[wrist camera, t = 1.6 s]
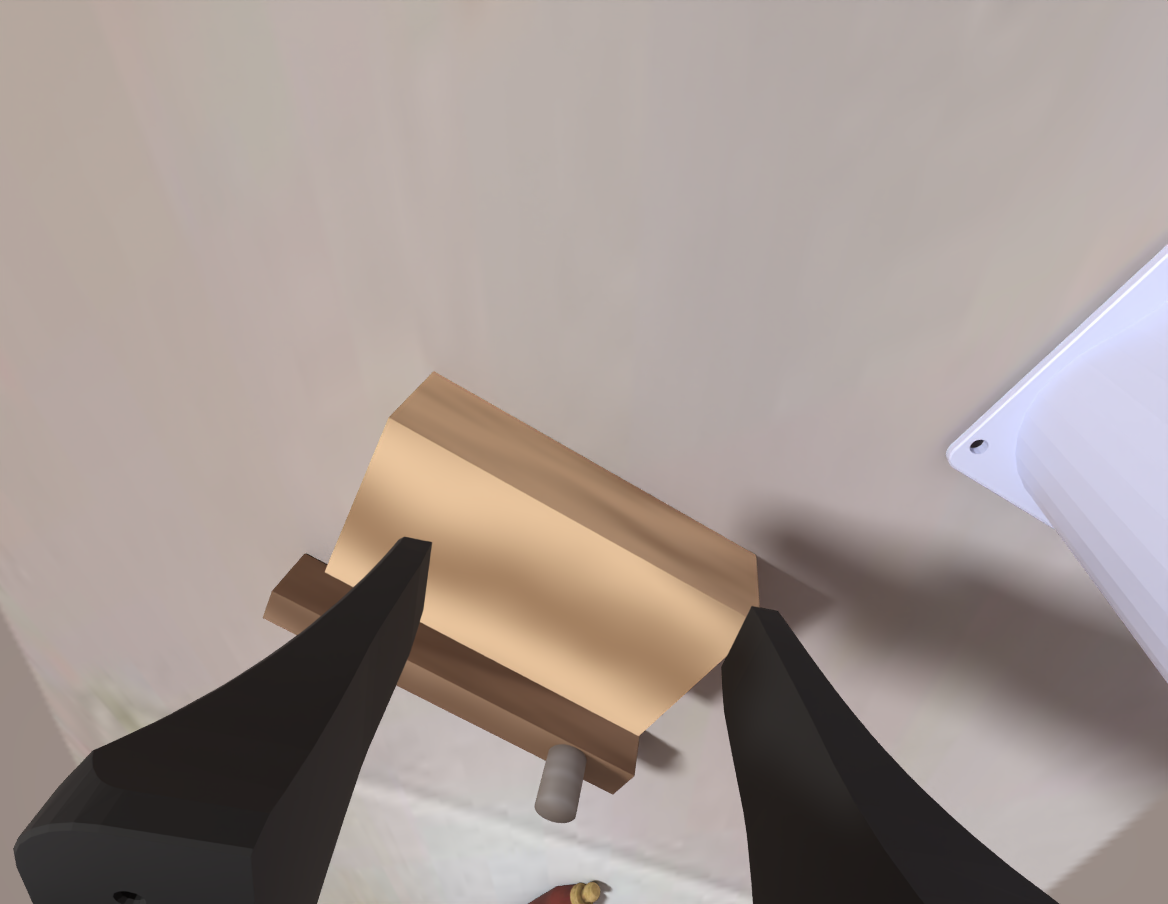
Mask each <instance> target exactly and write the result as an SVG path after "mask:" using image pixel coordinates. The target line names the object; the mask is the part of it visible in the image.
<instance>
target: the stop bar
mask: <svg viewBox="0 0 1168 904" xmlns="http://www.w3.org/2000/svg"><path fill="white" fill-rule="evenodd" d="M326 567H327V565H326V564H324V563H322V562H320V561H319V560H317V559H315V558H313V557H311V556H309V555H307V554H304V555H303V556H302V557H301V558H300V560H299V561H298V562H297V563H296V564H295V565H294V566H293V568H292V569H291V570H290V571H289V572H288V573H287V574H286V576H285V577H284V578H283V579H282V580H281V581H280V583H279V584H278V585H277V586H276V587H275V588H274V589H273V591H272V593H271V596H270V598H269V601H268V604H267V607H266V610H265V613H264V616H263V618H264V619H266V620H268V621H270V622H272V623H274V624H276V625H278V626H280V627H282V628H284V629H286V630H288V631H290V632H292V633H294V634H296V635H298V634H299V633H301V632H302V631H303V630H305V629H306V628H307V627H308V626H310V625H311V624H312V623H313V622H314V621H316V620H317V619H318V618H319V617H320V616H322V615H323V614H324V613H325V612H326V611H327V610H329V609H330V608H331V607H332V606H333V605H335V604H336V603H337V602H338V601H339V600H340V599H341V598H342V597H344V596H345V595H346V594H347V593H348V592H349V591H350V590H351V589H352V588H353V587H352V586H350V585H348V584H346V583H345V582H343V581H341V580H339V579H337V578H335V577H333V576H331V575H329V574H327V573H325V570H326ZM397 686H399V687H401V688H403V689H405V690H407V691H409V692H411V693H413V694H415V695H417V696H419V697H421V698H423V699H425V700H427V701H428V702H430V703H432V704H434V705H436V706H438V707H440V708H442V709H444V710H446V711H448V712H450V713H452V714H454V715H456V716H458V717H460V718H462V719H464V720H466V721H468V722H470V723H472V724H474V725H476V726H478V727H480V728H482V729H484V730H486V731H488V732H490V733H492V734H494V735H496V736H498V737H500V738H502V739H504V740H506V741H508V742H510V743H512V744H514V745H516V746H518V747H520V748H522V749H524V750H526V751H528V752H530V753H532V754H534V755H536V756H537V757H539V758H541V759H543V760H545V761H546V763H545V767H544V771H543V775H542V779H541V783H540V786H539V790H538V794H537V798H536V802H535V810H536V812H537V813H538V814H539V815H540V816H542V817H543V818H545V819H547V820H549V821H552V822H556V823H567V822H571V821H572V820H574V819H575V817H576V812H577V807H578V802H579V797H580V792H581V787H582V782H583V780H585V781H587V782H589V783H591V784H593V785H595V786H597V787H599V788H601V789H603V790H605V791H607V792H609V793H611V794H614V793H615V792H616V791H618V790H619V789H620V788H621V787H622V786H623V785H625V784H626V783H627V782H628V781H629V780H630V779H631V778H633V777H634V776H635V768H636V760H637V752H638V744H639V736H640V735H639V736H637V735H635V734H634V733H632V732H630V731H628V730H626V729H624V728H622V727H620V726H618V725H616V724H614V723H612V722H611V721H609V720H607V719H605V718H603V717H601V716H599V715H597V714H595V713H593V712H591V711H590V710H588V709H586V708H584V707H582V706H580V705H578V704H576V703H574V702H572V701H570V700H568V699H567V698H565V697H563V696H561V695H559V694H557V693H555V692H553V691H551V690H549V689H547V688H545V687H544V686H542V685H540V684H538V683H536V682H534V681H532V680H530V679H528V678H526V677H524V676H523V675H521V674H519V673H517V672H515V671H513V670H511V669H509V668H507V667H505V666H503V665H501V664H500V663H498V662H496V661H494V660H492V659H490V658H488V657H486V656H484V655H482V654H480V653H478V652H477V651H475V650H473V649H471V648H469V647H467V646H465V645H463V644H461V643H459V642H457V641H456V640H454V639H452V638H450V637H448V636H446V635H444V634H442V633H440V632H438V631H436V630H434V629H433V628H431V627H429V626H427V625H425V624H423V623H421V622H420V623H419V626H418V630H417V633H416V636H415V639H414V642H413V646H412V649H411V652H410V654H409V657H408V659H407V662H406V664H405V666H404V668H403V671H402V673H401V675H400V678H399V680H398V682H397Z"/></svg>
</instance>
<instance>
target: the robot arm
mask: <svg viewBox="0 0 1168 904" xmlns="http://www.w3.org/2000/svg"><path fill="white" fill-rule="evenodd" d="M981 439H982V440H984V442H983V443H982V445H980V446H979V447H976V448H971V447H970V445H971V444H972V443H973V442H974V441H976V440H981ZM946 457H947V460H948V462H949V464H950V465H951V466H952V467H953V468H954V469H956V470H958V471H959V472H961V473H963V474H964V475H966V476H967V477H969V478H971V479H972V480H974V481H976V482H977V483H979V484H981V485H982V486H984V487H986V488H987V489H989V490H991V491H992V492H994V493H995V494H997V495H999V496H1000V497H1002V498H1004V499H1005V500H1007V501H1009V502H1010V503H1012V504H1014V505H1015V506H1017V507H1018V508H1020V509H1022V510H1023V511H1025V512H1027V513H1028V514H1030V515H1032V516H1033V517H1035V518H1037V519H1038V520H1040V521H1042V522H1043V523H1045V524H1046V525H1048V526H1050V527H1051V528H1053V529H1055V530H1056V531H1057V533H1058V534H1059V536H1060V537H1061V538H1062V540H1063V541H1064V542H1065V544H1066V545H1067V546H1068V548H1069V549H1070V551H1071V552H1072V553H1073V555H1074V556H1075V557H1076V559H1077V560H1078V562H1079V563H1080V564H1081V566H1082V567H1083V568H1084V570H1085V571H1086V572H1087V574H1088V575H1089V577H1090V578H1091V579H1092V581H1093V582H1094V583H1095V585H1096V586H1097V588H1098V589H1099V590H1100V592H1101V593H1102V594H1103V596H1104V597H1105V598H1106V600H1107V601H1108V603H1109V604H1110V605H1111V607H1112V608H1113V609H1114V611H1115V612H1116V614H1117V615H1118V616H1119V618H1120V619H1121V620H1122V622H1123V623H1124V624H1125V626H1126V627H1127V629H1128V630H1129V631H1130V633H1131V634H1132V635H1133V637H1134V638H1135V639H1136V641H1137V642H1138V644H1139V645H1140V646H1141V648H1142V649H1143V650H1144V652H1145V653H1146V655H1147V656H1148V657H1149V659H1150V660H1151V661H1152V663H1153V664H1154V665H1155V667H1156V668H1157V670H1158V671H1159V672H1160V674H1161V675H1162V676H1163V678H1164V679H1165V681H1166V682H1167V683H1168V244H1167V245H1166V246H1165V247H1164V248H1163V249H1162V250H1161V251H1160V252H1159V253H1157V254H1156V255H1155V256H1154V257H1153V258H1152V259H1151V260H1150V261H1149V262H1148V263H1147V264H1146V265H1145V266H1143V267H1142V268H1141V269H1140V270H1139V271H1138V272H1137V273H1136V274H1135V275H1134V276H1133V277H1132V278H1130V279H1129V280H1128V281H1127V282H1126V283H1125V284H1124V285H1123V286H1122V287H1121V288H1120V289H1119V290H1117V291H1116V292H1115V293H1114V294H1113V295H1112V296H1111V297H1110V298H1109V299H1108V300H1107V301H1106V302H1105V303H1103V304H1102V305H1101V306H1100V307H1099V308H1098V309H1097V310H1096V311H1095V312H1094V313H1093V314H1092V315H1090V316H1089V317H1088V318H1087V319H1086V320H1085V321H1084V322H1083V323H1082V324H1081V325H1080V326H1079V327H1078V328H1076V329H1075V330H1074V331H1073V332H1072V333H1071V334H1070V335H1069V336H1068V337H1067V338H1066V339H1065V340H1063V341H1062V342H1061V343H1060V344H1059V345H1058V346H1057V347H1056V348H1055V349H1054V350H1053V351H1052V352H1050V353H1049V354H1048V355H1047V356H1046V357H1045V358H1044V359H1043V360H1042V361H1041V362H1040V363H1039V364H1038V365H1036V366H1035V367H1034V368H1033V369H1032V370H1031V371H1030V372H1029V373H1028V374H1027V375H1026V376H1025V377H1023V378H1022V379H1021V380H1020V381H1019V382H1018V383H1017V384H1016V385H1015V386H1014V387H1013V388H1012V389H1011V390H1009V391H1008V392H1007V393H1006V394H1005V395H1004V396H1003V397H1002V398H1001V399H1000V400H999V401H998V402H996V403H995V404H994V405H993V406H992V407H991V408H990V409H989V410H988V411H987V412H986V413H985V414H983V415H982V416H981V417H980V418H979V419H978V420H977V421H976V422H975V423H974V424H973V425H972V426H971V427H969V428H968V429H967V430H966V431H965V432H964V433H963V434H962V435H961V436H960V437H959V438H958V439H956V440H955V441H954V442H953V443H952V444H951V445H950V446H949V448H948V449H947V452H946ZM431 548H432V542H429V541H424V540H419V539H414V538H409V537H402V538H400V539H399V540H398V541H397V542H396V543H395V544H394V546H393V547H392V548H391V549H390V550H389V551H388V553H387V554H386V555H385V556H384V557H383V558H382V559H381V560H380V561H379V562H378V563H377V564H376V565H375V566H374V568H373V569H372V570H371V571H370V572H369V573H368V574H367V575H366V576H365V577H364V578H363V579H362V580H360V581H359V582H358V583H357V584H356V585H355V586H354V587H353V588H352V589H351V590H350V591H349V592H348V593H347V594H346V595H345V596H344V597H342V598H341V599H340V600H339V601H338V602H337V603H336V604H335V605H333V606H332V607H331V608H330V609H329V610H327V611H326V612H325V613H324V614H323V615H322V616H320V617H319V618H318V619H317V620H316V621H314V622H313V623H312V624H311V625H310V626H308V627H307V628H306V629H305V630H303V631H302V632H301V633H299V634H298V635H297V636H296V637H294V638H293V639H292V640H290V641H289V642H288V643H286V644H285V645H283V646H282V647H281V648H279V649H278V650H276V651H275V652H274V653H272V654H271V655H269V656H268V657H266V658H265V659H263V660H262V661H260V662H259V663H257V664H256V665H254V666H253V667H251V668H250V669H248V670H246V671H245V672H243V673H242V674H240V675H239V676H237V677H236V678H234V679H232V680H231V681H229V682H227V683H226V684H224V685H222V686H221V687H219V688H217V689H216V690H214V691H212V692H210V693H208V694H206V695H205V696H203V697H201V698H199V699H197V700H196V701H194V702H192V703H190V704H188V705H186V706H185V707H183V708H181V709H179V710H177V711H176V712H174V713H172V714H170V715H168V716H166V717H164V718H162V719H160V720H158V721H156V722H154V723H152V724H150V725H148V726H145V727H143V728H141V729H139V730H137V731H135V732H133V733H131V734H128V735H126V736H124V737H122V738H120V739H118V740H116V741H113V742H111V743H109V744H107V745H105V746H102V747H100V748H98V749H95V750H93V751H92V752H91V753H90V754H89V755H88V756H87V757H86V758H85V759H84V760H83V762H82V763H81V764H80V765H79V766H78V767H77V768H76V769H75V770H74V771H73V772H72V773H71V774H70V775H69V776H68V777H67V778H66V779H65V780H64V781H63V783H62V784H61V785H60V786H59V787H58V788H57V789H56V790H55V792H54V793H53V794H52V796H51V797H50V798H49V799H48V801H47V802H46V803H45V804H44V806H43V807H42V808H41V810H40V811H39V812H38V814H37V815H36V816H35V817H34V818H33V820H32V821H31V823H30V824H29V825H28V826H27V827H26V829H25V830H24V831H23V832H22V834H21V835H20V836H19V838H18V839H17V842H16V844H15V846H14V848H13V849H14V855H15V860H16V866H17V869H18V871H19V873H20V876H21V878H22V880H23V882H24V885H25V887H26V889H27V891H28V893H29V895H30V898H31V900H32V902H33V904H317V902H318V899H319V896H320V892H321V889H322V886H323V883H324V880H325V876H326V873H327V870H328V867H329V864H330V861H331V858H332V854H333V851H334V848H335V845H336V842H337V839H338V836H339V833H340V830H341V827H342V824H343V820H344V817H345V814H346V811H347V808H348V805H349V802H350V799H351V796H352V793H353V790H354V787H355V784H356V781H357V778H358V775H359V772H360V769H361V767H362V764H363V761H364V759H365V756H366V754H367V751H368V749H369V746H370V744H371V742H372V739H373V737H374V735H375V733H376V730H377V728H378V726H379V723H380V721H381V719H382V717H383V714H384V712H385V710H386V707H387V705H388V703H389V701H390V698H391V696H392V694H393V691H394V689H395V687H396V685H397V682H398V680H399V678H400V675H401V673H402V671H403V668H404V666H405V664H406V662H407V659H408V657H409V654H410V652H411V649H412V646H413V642H414V639H415V636H416V633H417V630H418V626H419V623H420V620H421V616H422V613H423V610H424V602H425V594H426V587H427V579H428V571H429V564H430V556H431ZM721 669H722V690H723V703H724V714H725V719H726V725H727V730H728V735H729V741H730V746H731V751H732V756H733V761H734V766H735V771H736V777H737V782H738V787H739V792H740V797H741V802H742V807H743V812H744V819H745V825H746V832H747V841H748V851H749V862H750V872H751V883H752V896H753V904H1059V903H1058V902H1056V901H1055V900H1054V899H1052V898H1051V897H1050V896H1049V895H1047V894H1046V893H1045V892H1043V891H1042V890H1041V889H1039V888H1038V887H1037V886H1035V885H1034V884H1033V883H1031V882H1030V881H1029V880H1027V879H1026V878H1025V877H1023V876H1022V875H1021V874H1019V873H1018V872H1017V871H1015V870H1014V869H1013V868H1012V867H1010V866H1009V865H1008V864H1007V863H1005V862H1004V861H1003V860H1002V859H1001V858H999V857H998V856H997V855H996V854H995V853H993V852H992V851H991V850H990V849H989V848H987V847H986V846H985V845H984V844H983V843H981V842H980V841H979V840H978V839H977V838H975V837H974V836H973V835H972V834H971V833H970V832H968V831H967V830H966V829H965V828H964V827H963V826H962V825H961V824H959V823H958V822H957V821H956V820H955V819H954V818H953V817H952V816H951V815H949V814H948V813H947V812H946V811H945V810H944V809H943V808H942V807H941V806H940V805H939V804H938V803H937V802H936V801H935V800H934V799H932V798H931V797H930V796H929V795H928V794H927V793H926V792H925V791H924V790H923V789H922V788H921V787H920V786H919V785H918V784H917V783H916V782H915V781H914V780H913V779H912V778H911V777H910V776H909V775H908V774H907V773H906V772H905V771H904V770H903V769H902V768H901V767H900V765H899V764H898V763H897V762H896V761H895V760H894V759H893V758H892V757H891V756H890V755H889V754H888V753H887V752H886V751H885V749H884V748H883V747H882V746H881V745H880V744H879V743H878V742H877V740H876V739H875V738H874V737H873V736H872V735H871V734H870V732H869V731H868V730H867V729H866V728H865V726H864V725H863V724H862V723H861V722H860V720H859V719H858V718H857V717H856V715H855V714H854V713H853V712H852V711H851V709H850V708H849V707H848V706H847V704H846V703H845V702H844V701H843V699H842V698H841V697H840V695H839V694H838V693H837V692H836V690H835V689H834V688H833V686H832V685H831V684H830V682H829V681H828V680H827V678H826V677H825V676H824V674H823V673H822V672H821V670H820V669H819V667H818V666H817V665H816V663H815V662H814V661H813V659H812V658H811V656H810V655H809V654H808V652H807V651H806V649H805V648H804V647H803V645H802V644H801V642H800V641H799V640H798V638H797V637H796V635H795V634H794V633H793V631H792V630H791V628H790V627H789V626H788V624H787V623H786V621H785V620H784V619H783V617H782V616H781V615H780V613H779V612H778V611H775V610H770V609H765V608H760V607H755V606H751V608H750V610H749V612H748V614H747V616H746V618H745V620H744V622H743V624H742V626H741V628H740V630H739V632H738V635H737V637H736V639H735V641H734V643H733V645H732V647H731V649H730V651H729V653H728V655H727V657H726V659H725V661H724V663H723V665H722V667H721Z"/></svg>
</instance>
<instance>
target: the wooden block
mask: <svg viewBox="0 0 1168 904" xmlns="http://www.w3.org/2000/svg"><path fill="white" fill-rule="evenodd" d="M402 537H409V538H414V539H419V540H424V541H429V542H432V548H431V556H430V564H429V571H428V579H427V587H426V594H425V602H424V610H423V613H422V616H421V620H420V622H421V623H423V624H425V625H427V626H429V627H431V628H433V629H434V630H436V631H438V632H440V633H442V634H444V635H446V636H448V637H450V638H452V639H454V640H456V641H457V642H459V643H461V644H463V645H465V646H467V647H469V648H471V649H473V650H475V651H477V652H478V653H480V654H482V655H484V656H486V657H488V658H490V659H492V660H494V661H496V662H498V663H500V664H501V665H503V666H505V667H507V668H509V669H511V670H513V671H515V672H517V673H519V674H521V675H523V676H524V677H526V678H528V679H530V680H532V681H534V682H536V683H538V684H540V685H542V686H544V687H545V688H547V689H549V690H551V691H553V692H555V693H557V694H559V695H561V696H563V697H565V698H567V699H568V700H570V701H572V702H574V703H576V704H578V705H580V706H582V707H584V708H586V709H588V710H590V711H591V712H593V713H595V714H597V715H599V716H601V717H603V718H605V719H607V720H609V721H611V722H612V723H614V724H616V725H618V726H620V727H622V728H624V729H626V730H628V731H630V732H632V733H634V734H635V735H637V736H639V735H640V734H641V733H643V732H644V731H645V730H646V729H647V728H648V727H649V726H650V725H651V724H652V723H654V722H655V721H656V720H657V719H658V718H659V717H660V716H661V715H662V714H663V713H665V712H666V711H667V710H668V709H669V708H670V707H671V706H672V705H673V704H674V703H676V702H677V701H678V700H679V699H680V698H681V697H682V696H683V695H684V694H685V693H687V692H688V691H689V690H690V689H691V688H692V687H693V686H694V685H695V684H696V683H698V682H699V681H700V680H701V679H702V678H703V677H704V676H705V675H706V674H707V673H709V672H710V671H711V670H712V669H713V668H714V667H715V666H716V665H717V664H718V663H720V662H721V661H722V660H723V659H724V658H725V657H726V656H727V655H728V653H729V651H730V649H731V647H732V645H733V643H734V641H735V639H736V637H737V635H738V632H739V630H740V628H741V626H742V624H743V622H744V620H745V618H746V616H747V614H748V612H749V610H750V608H751V606H755V607H760V606H759V591H758V576H757V561H756V555H755V554H753V553H751V552H750V551H748V550H746V549H744V548H743V547H741V546H739V545H737V544H736V543H734V542H732V541H730V540H729V539H727V538H725V537H723V536H722V535H720V534H718V533H716V532H715V531H713V530H711V529H709V528H707V527H706V526H704V525H702V524H700V523H699V522H697V521H695V520H693V519H692V518H690V517H688V516H686V515H685V514H683V513H681V512H679V511H678V510H676V509H674V508H672V507H671V506H669V505H667V504H665V503H664V502H662V501H660V500H658V499H657V498H655V497H653V496H651V495H650V494H648V493H646V492H644V491H643V490H641V489H639V488H637V487H636V486H634V485H632V484H630V483H629V482H627V481H625V480H623V479H622V478H620V477H618V476H616V475H615V474H613V473H611V472H609V471H608V470H606V469H604V468H602V467H601V466H599V465H597V464H595V463H594V462H592V461H590V460H588V459H587V458H585V457H583V456H581V455H580V454H578V453H576V452H574V451H573V450H571V449H569V448H567V447H566V446H564V445H562V444H560V443H559V442H557V441H555V440H553V439H552V438H550V437H548V436H546V435H544V434H543V433H541V432H539V431H537V430H536V429H534V428H532V427H530V426H529V425H527V424H525V423H523V422H522V421H520V420H518V419H516V418H515V417H513V416H511V415H509V414H508V413H506V412H504V411H502V410H501V409H499V408H497V407H495V406H494V405H492V404H490V403H488V402H487V401H485V400H483V399H481V398H480V397H478V396H476V395H474V394H473V393H471V392H469V391H467V390H466V389H464V388H462V387H460V386H459V385H457V384H455V383H453V382H452V381H450V380H448V379H446V378H445V377H443V376H441V375H439V374H438V373H436V372H434V371H433V372H432V374H431V375H430V376H429V377H428V378H427V379H426V380H425V381H424V382H423V383H422V384H421V385H420V386H419V387H418V388H417V389H416V390H415V391H414V392H413V393H412V394H411V395H410V396H409V397H408V398H407V399H406V400H405V401H404V402H403V403H402V404H401V405H400V406H399V407H398V408H397V410H396V411H395V412H394V413H393V414H392V415H391V416H390V417H389V418H388V421H387V423H386V425H385V428H384V430H383V433H382V435H381V437H380V440H379V442H378V445H377V447H376V449H375V452H374V454H373V457H372V459H371V461H370V464H369V466H368V469H367V471H366V474H365V476H364V478H363V481H362V483H361V486H360V488H359V490H358V493H357V495H356V498H355V500H354V502H353V505H352V507H351V510H350V512H349V514H348V517H347V519H346V522H345V524H344V527H343V529H342V531H341V534H340V536H339V539H338V541H337V543H336V546H335V548H334V551H333V553H332V555H331V558H330V560H329V563H328V565H327V567H326V570H325V573H327V574H329V575H331V576H333V577H335V578H337V579H339V580H341V581H343V582H345V583H346V584H348V585H350V586H352V587H354V586H355V585H356V584H357V583H358V582H359V581H360V580H362V579H363V578H364V577H365V576H366V575H367V574H368V573H369V572H370V571H371V570H372V569H373V568H374V566H375V565H376V564H377V563H378V562H379V561H380V560H381V559H382V558H383V557H384V556H385V555H386V554H387V553H388V551H389V550H390V549H391V548H392V547H393V546H394V544H395V543H396V542H397V541H398V540H399V539H400V538H402Z"/></svg>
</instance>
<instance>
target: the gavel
mask: <svg viewBox="0 0 1168 904" xmlns="http://www.w3.org/2000/svg"><path fill="white" fill-rule="evenodd" d="M599 896H600V887H599V886H598V884H596V883H594V882H590V883H588V884H584V883H578V884H573V885H563V886H556V887H555V888H553V889H551V890H550V891H548V892H546V893H545V894H543V895H541V896H540V897H538V898H536V899H535V900H533V901H532V902H530V903H528V904H593V902H594V901H596V900H597V899H598V898H599Z"/></svg>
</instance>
